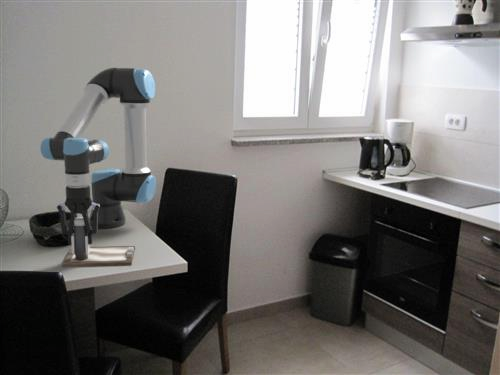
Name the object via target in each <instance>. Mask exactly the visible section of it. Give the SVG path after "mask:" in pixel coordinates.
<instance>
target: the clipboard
mask: <svg viewBox="0 0 500 375" xmlns="http://www.w3.org/2000/svg"><path fill="white" fill-rule="evenodd" d="M89 249H90V252H89V254H88V259H86V260H76V259H75V255H72V248H71V249H70V250H69V252H68V254H67V256H66V258H65V259H64V260H63V262H62V267H63V268H65V267H66V268H67V267H96V266H97V267H99V266H101V267H102V266H103V267H104V266H106V267H107V266H132V264H133V259H134V255H135V250H136V246H135V245H118V246H117V245H113V246H112V245H110V246H108V245H106V246H89Z"/></svg>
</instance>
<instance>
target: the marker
mask: <svg viewBox="0 0 500 375" xmlns="http://www.w3.org/2000/svg"><path fill="white" fill-rule="evenodd" d="M73 234H74V238H75V259H76V260H86V259H88V255H86V246H85V236H86V235H87V231H86V227H85V223H84V219H83V216H75V219H74V228H73Z"/></svg>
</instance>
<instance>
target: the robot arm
mask: <svg viewBox="0 0 500 375" xmlns="http://www.w3.org/2000/svg"><path fill="white" fill-rule="evenodd" d="M83 92H84V93H83V94H82V96H81V98H79V100H78V102H77V103H76V105H75V106H74V107H73V109H72V110H71V112H70V114H69V115H68V116H67V117H66V120H64V122H63V123H62V125H61V126H60V128H59V129H58V131H57V132H56V134H55V135H54V136H53V137H46V138H44V139H42V141H41V143H40V148H39V149H40V153H41V155H42V157H43V158H44V159H47V160H52V161H62V162H64V180H65V181H64V183H65V184H64V185H65V186H66V187H65V201H64V202H63V203H59V204H58V205H56V209H57V211H58V213H59V220H60V231H61V234H62V235H66V236H67V242H68V245H69V246H71V249H72V255H75V238H74V219H75V217H76V215H77V214H80V215H81V217H83V219H84V223H85V227H86V231H87V235H86V236H85V246H86V255H88V254H89V252H90V249H89V247H90V245H92V244H93V235H94V234H97V233H98V229H113V228H119V227H121V226H124V225H125V224H126V222H127V221H126V220H127V219H126V217H127V216H126V214H125V212H124V210H123V206H122V202H128V203H136V204H147V203H149V202H150V201H152V199H153V197H154V196H155V193H156V190H157V189H156V188H157V179H156V177H155V175H152V174H151V173H152V172H151V169H150V168H149V167H148V162H147V161H148V159H147V158H148V156H147V155H148V154H147V153H148V152H147V148H148V146H147V143H148V142H147V107H148V106H149V105H150V104H151V100H153V99H154V98H155V94H156V83H155V79H154V76H153V75H152V73H151V72H150V71H149V70H148V69H145V68H138V67H136V68H134V67H133V68H130V67H129V68H128V67H126V68H125V67H108V68H105V69H104V70H101V71H100V72H98V73H97V74H96V75H94V76H93V77H92V78H91V79H90V80H89V81H88V83H87V84H86V85H85V87H84V88H83ZM112 98H116V99H119V104H120V105H121V106H122V107H123V122H124V123H123V124H124V128H123V129H124V161H125V162H124V163H125V164H124V167H123V168H122V169H120V168H108V169H107V168H106V169H100V170H96V171H94V172H92V174H91V176H90V165H92V164H95V163H100V162H102V161H104V160H106V159H107V157H108V156H109V154H110V148H109V145H108V144H107V142H106V141H104V140H102V139H92V140H88V138H85V137H82V136H83V135H84V133H85V132H86V130H87V128H88V127H89V126H90V124H91V122H93V119H94V118H95V116H96V114H97V113H98V112H99V111H100V110H99V109H101V107H102V105H104V104H105V105H106V103H107V102H108V100H111V99H112ZM90 177H91V178H90ZM90 179H91V182H90ZM90 184H91V186H90ZM90 207H91V210H90V213H89V212H88V210H89V209H90ZM66 209H68V210H69V211H70V215H69V224H68V225H67V217H66ZM67 226H68V227H67Z"/></svg>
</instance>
